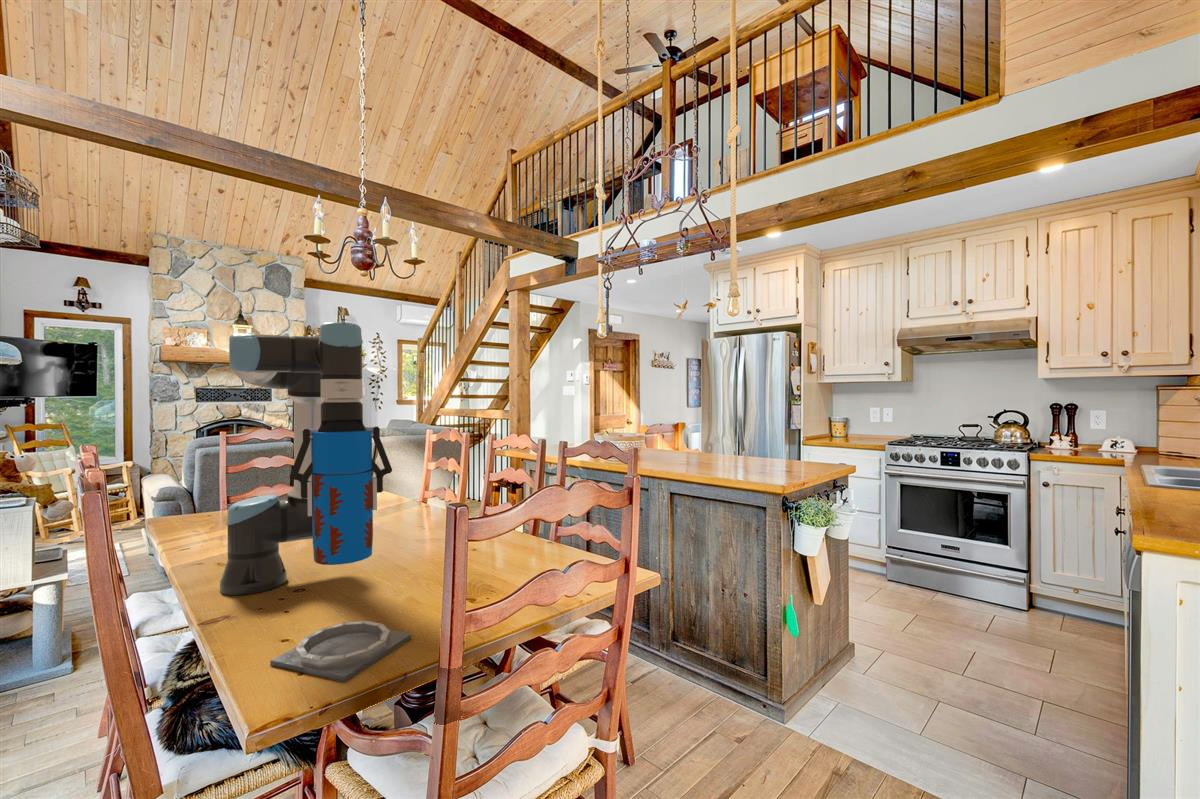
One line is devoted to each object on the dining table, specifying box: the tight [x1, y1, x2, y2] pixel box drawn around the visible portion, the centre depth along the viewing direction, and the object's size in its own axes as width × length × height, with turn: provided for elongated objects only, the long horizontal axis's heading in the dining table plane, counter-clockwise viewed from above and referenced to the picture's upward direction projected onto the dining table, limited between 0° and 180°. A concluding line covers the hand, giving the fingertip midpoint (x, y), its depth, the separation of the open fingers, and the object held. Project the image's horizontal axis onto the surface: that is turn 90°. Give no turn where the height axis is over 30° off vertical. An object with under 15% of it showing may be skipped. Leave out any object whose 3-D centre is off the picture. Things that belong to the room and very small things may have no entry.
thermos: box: [311, 430, 374, 566], centre depth 107 cm, size 11×11×25 cm
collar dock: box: [269, 620, 413, 683], centre depth 108 cm, size 18×18×2 cm
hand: (343, 511), depth 107 cm, fingers closed on thermos, 11 cm apart
